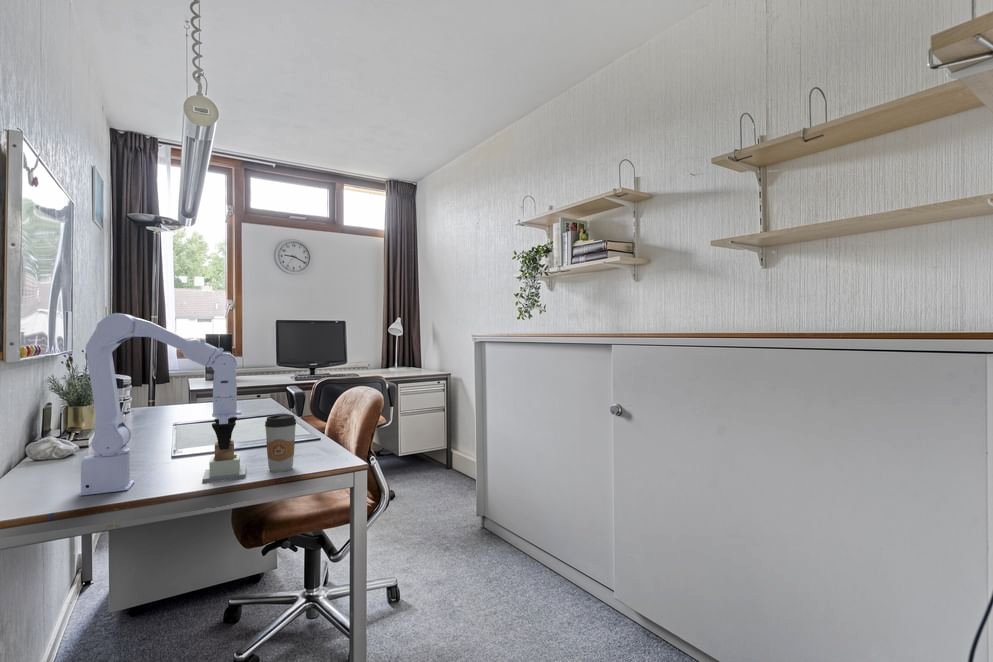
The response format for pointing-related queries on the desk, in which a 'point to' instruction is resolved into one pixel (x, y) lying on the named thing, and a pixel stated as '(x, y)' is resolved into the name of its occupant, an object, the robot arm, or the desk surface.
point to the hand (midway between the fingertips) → (224, 446)
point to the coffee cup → (280, 442)
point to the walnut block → (224, 452)
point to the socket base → (219, 478)
